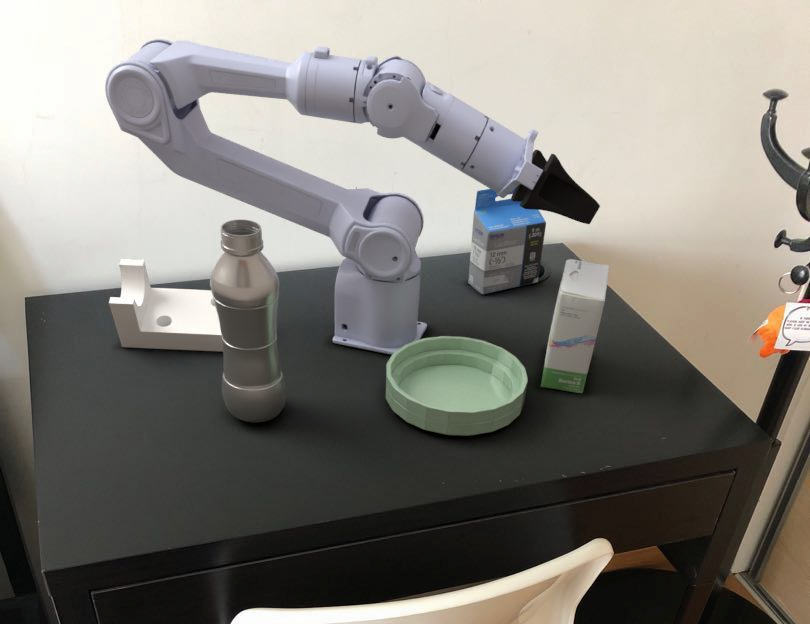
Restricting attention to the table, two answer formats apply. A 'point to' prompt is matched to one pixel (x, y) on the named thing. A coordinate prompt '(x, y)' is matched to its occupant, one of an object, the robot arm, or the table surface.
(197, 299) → the bracket
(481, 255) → the label tape box
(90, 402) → the table surface
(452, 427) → the bowl
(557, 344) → the ink box
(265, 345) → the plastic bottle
